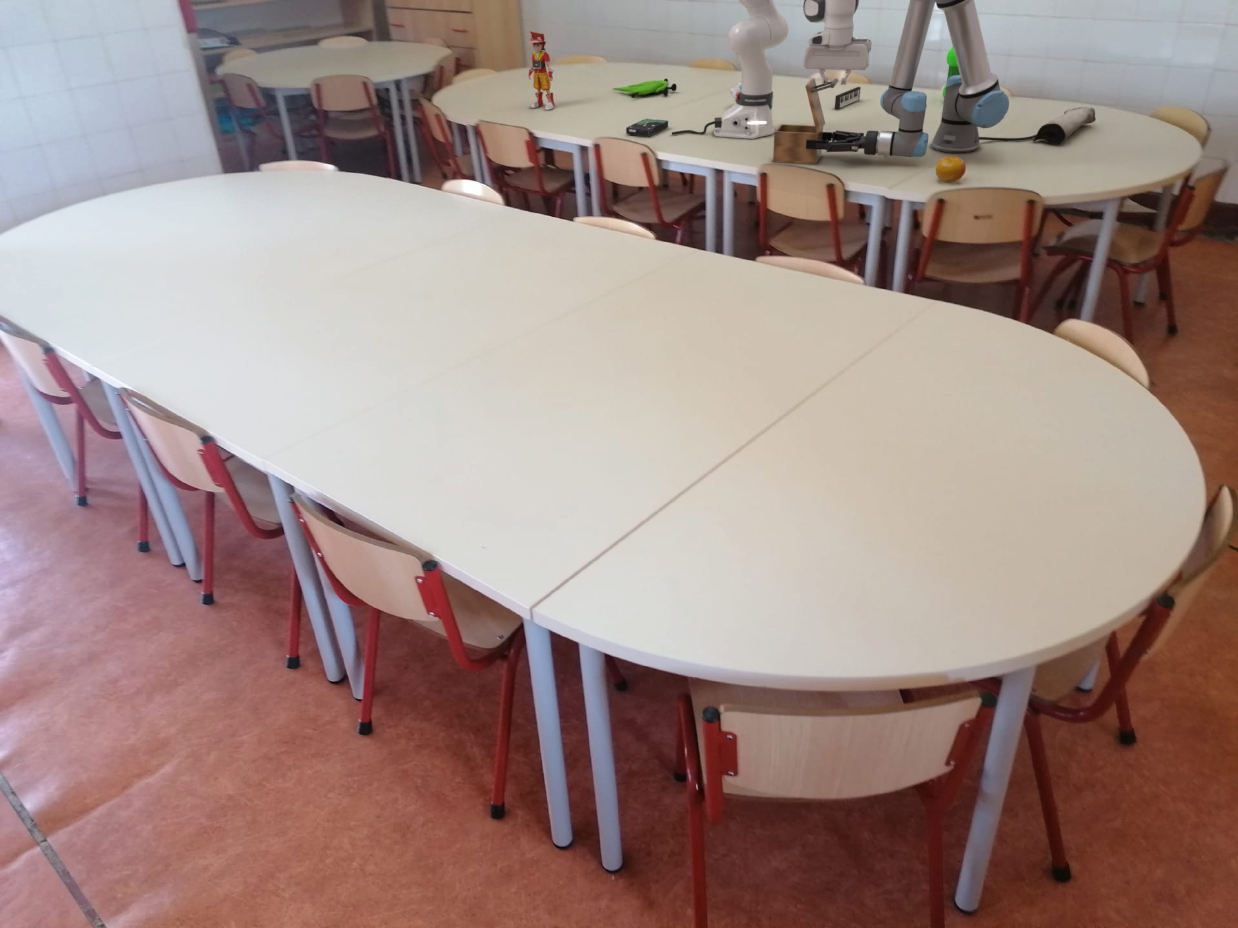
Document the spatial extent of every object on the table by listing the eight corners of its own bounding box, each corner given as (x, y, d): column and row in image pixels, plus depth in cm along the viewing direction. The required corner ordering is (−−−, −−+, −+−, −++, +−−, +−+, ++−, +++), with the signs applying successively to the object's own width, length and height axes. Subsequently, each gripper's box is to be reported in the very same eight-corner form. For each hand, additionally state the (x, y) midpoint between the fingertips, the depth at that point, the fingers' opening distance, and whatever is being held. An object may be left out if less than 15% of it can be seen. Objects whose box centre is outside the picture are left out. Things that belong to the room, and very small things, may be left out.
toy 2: (686, 85, 398) (631, 84, 414) (685, 72, 395) (629, 72, 411) (651, 104, 381) (596, 103, 397) (650, 92, 378) (594, 91, 394)
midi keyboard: (837, 109, 355) (838, 96, 352) (834, 109, 355) (835, 95, 352) (859, 100, 365) (860, 87, 362) (856, 99, 366) (858, 86, 363)
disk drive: (649, 138, 335) (668, 127, 345) (649, 130, 333) (668, 120, 343) (625, 135, 340) (645, 125, 350) (625, 127, 338) (645, 117, 348)
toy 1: (525, 109, 381) (517, 32, 364) (534, 104, 388) (527, 28, 371) (550, 110, 377) (543, 32, 360) (559, 105, 384) (553, 28, 367)
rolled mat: (1061, 112, 323) (1087, 94, 314) (1075, 133, 323) (1101, 116, 315) (1028, 135, 305) (1054, 117, 297) (1043, 158, 306) (1070, 140, 298)
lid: (805, 86, 286) (831, 77, 282) (811, 79, 293) (837, 71, 289) (816, 132, 292) (842, 125, 288) (821, 124, 300) (847, 117, 296)
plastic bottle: (973, 101, 354) (984, 32, 339) (955, 106, 349) (966, 36, 335) (952, 97, 361) (962, 29, 346) (934, 102, 356) (944, 33, 342)
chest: (772, 162, 303) (774, 131, 297) (779, 154, 310) (780, 124, 304) (815, 164, 298) (818, 134, 293) (820, 156, 305) (823, 126, 300)
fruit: (930, 172, 274) (947, 148, 271) (931, 174, 281) (947, 151, 278) (953, 187, 272) (970, 164, 269) (953, 189, 280) (970, 166, 277)
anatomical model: (726, 82, 366) (750, 75, 366) (730, 107, 372) (754, 101, 372) (732, 90, 354) (757, 83, 353) (737, 117, 360) (761, 110, 359)
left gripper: (873, 35, 278) (868, 82, 286) (807, 35, 285) (804, 81, 293) (870, 39, 273) (866, 87, 281) (803, 38, 280) (801, 85, 288)
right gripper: (871, 165, 286) (801, 161, 293) (881, 145, 303) (814, 142, 310) (874, 140, 282) (803, 137, 289) (883, 122, 298) (816, 120, 306)
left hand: (834, 84), depth 287 cm, fingers open, 4 cm apart
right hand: (809, 140), depth 299 cm, fingers closed on chest, 10 cm apart
